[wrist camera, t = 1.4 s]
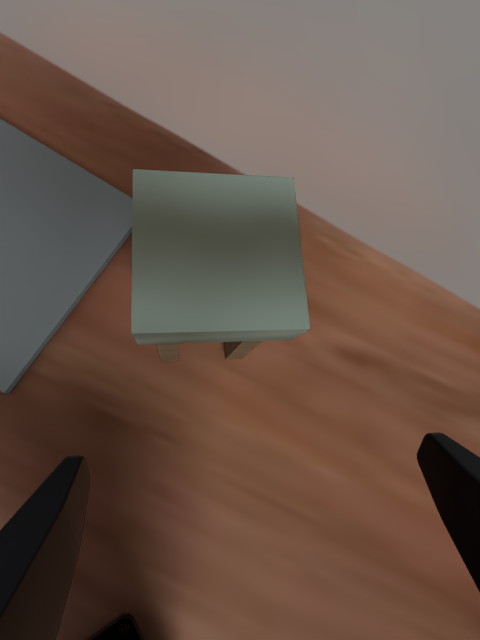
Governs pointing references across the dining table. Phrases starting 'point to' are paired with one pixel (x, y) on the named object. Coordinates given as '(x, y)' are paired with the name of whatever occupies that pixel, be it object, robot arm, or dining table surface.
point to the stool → (215, 261)
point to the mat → (48, 244)
